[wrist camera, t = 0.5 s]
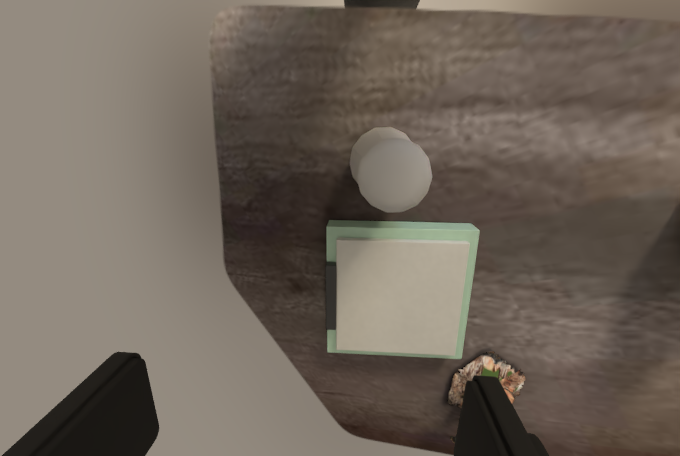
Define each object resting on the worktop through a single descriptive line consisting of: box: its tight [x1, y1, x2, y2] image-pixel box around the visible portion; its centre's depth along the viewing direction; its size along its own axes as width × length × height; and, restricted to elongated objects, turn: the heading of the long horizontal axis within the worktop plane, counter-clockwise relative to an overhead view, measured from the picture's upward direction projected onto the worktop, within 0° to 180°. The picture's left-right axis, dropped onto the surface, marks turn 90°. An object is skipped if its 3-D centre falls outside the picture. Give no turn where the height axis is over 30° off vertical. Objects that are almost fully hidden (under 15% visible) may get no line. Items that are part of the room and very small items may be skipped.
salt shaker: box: [350, 127, 432, 212], centre depth 23 cm, size 6×6×13 cm
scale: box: [326, 220, 480, 359], centre depth 32 cm, size 14×14×3 cm
